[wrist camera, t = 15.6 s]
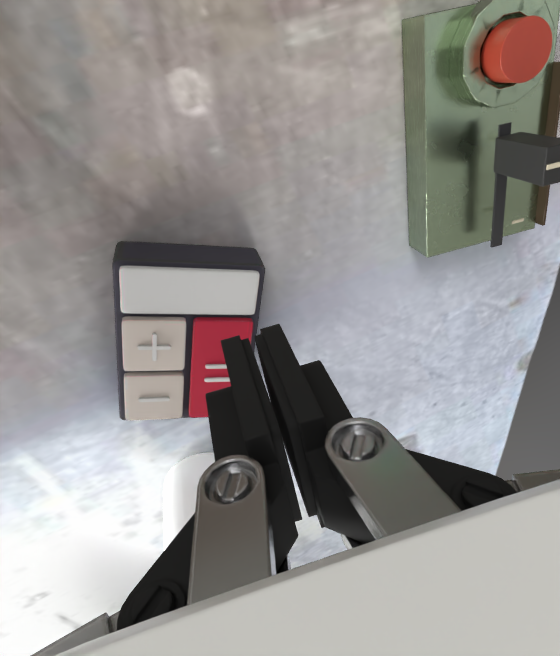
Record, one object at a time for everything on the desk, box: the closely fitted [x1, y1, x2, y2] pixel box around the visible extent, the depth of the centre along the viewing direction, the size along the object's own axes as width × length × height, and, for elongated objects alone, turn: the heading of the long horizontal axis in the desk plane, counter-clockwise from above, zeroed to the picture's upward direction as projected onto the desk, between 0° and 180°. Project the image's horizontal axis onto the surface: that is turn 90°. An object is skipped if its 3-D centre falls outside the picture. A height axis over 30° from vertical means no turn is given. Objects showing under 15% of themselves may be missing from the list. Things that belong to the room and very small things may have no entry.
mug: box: [163, 452, 215, 551], centre depth 45 cm, size 12×8×10 cm
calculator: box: [113, 241, 265, 421], centre depth 38 cm, size 11×4×15 cm
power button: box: [481, 16, 552, 83], centre depth 29 cm, size 4×4×2 cm
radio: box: [402, 0, 560, 258], centre depth 35 cm, size 10×17×5 cm, turn 10°
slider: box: [494, 132, 560, 186], centre depth 30 cm, size 2×2×5 cm
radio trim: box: [491, 62, 560, 247], centre depth 35 cm, size 6×12×4 cm, turn 10°
